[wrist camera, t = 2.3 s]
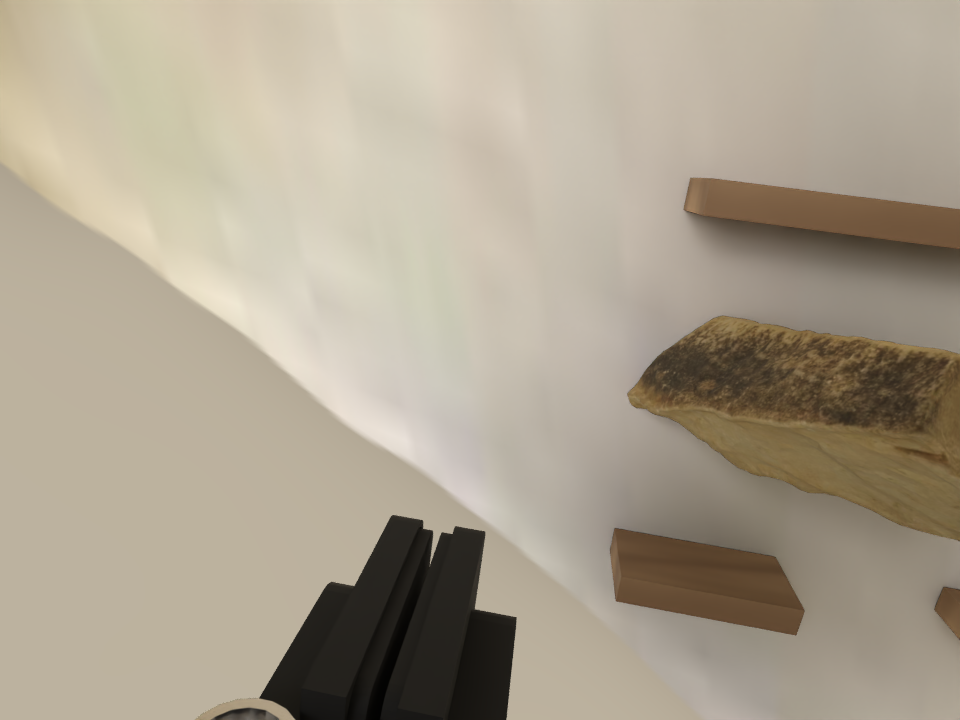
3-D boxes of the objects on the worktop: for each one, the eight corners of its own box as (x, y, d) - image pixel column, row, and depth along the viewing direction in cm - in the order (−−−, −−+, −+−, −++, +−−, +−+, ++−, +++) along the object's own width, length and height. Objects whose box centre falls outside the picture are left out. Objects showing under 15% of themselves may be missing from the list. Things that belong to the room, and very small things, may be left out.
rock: (1147, 414, 18) (966, 161, 15) (1211, 716, 13) (963, 417, 11) (794, 470, 26) (643, 313, 24) (754, 664, 22) (560, 492, 19)
